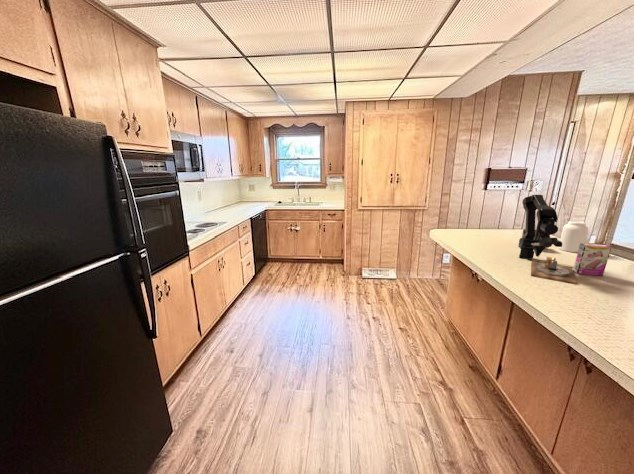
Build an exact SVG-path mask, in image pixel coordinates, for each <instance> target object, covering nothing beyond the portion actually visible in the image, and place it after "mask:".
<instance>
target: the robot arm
mask: <svg viewBox="0 0 634 474" xmlns="http://www.w3.org/2000/svg"><path fill="white" fill-rule="evenodd" d="M522 206H523V207H522V208H523V209H524V211H525V229H526V232H525V235H524V236H523V237H522V236H521V238H520V239H519V241H518V245H517V246H518V248H519V249H520V253H519V256H518V257H519V258H521V259H527V260H533V258H534V256H536V257H538V258H539V257H540V255H541V254H542V253H543V251H544V250H545V249H549V248H550V247H553V246H554V247H558V248H559V247H562V242H561V241H560V239H558V238H557V237H551V235H554V234H557V232H558V231H559V227H558V225H556V223H557V222H558V214H557V212H556V210H555V208H554V207H553V206H550V205H548V203H547V202H546V201H545V199H544V195H543V194H531V195H530V196H526V197H524V198H523V199H522ZM536 218H537V225H536ZM535 230H536V231H535Z"/></svg>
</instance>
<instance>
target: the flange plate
mask: <svg viewBox="0 0 634 474" xmlns="http://www.w3.org/2000/svg"><path fill="white" fill-rule="evenodd" d="M552 258H553V257H549V256H546V260H545V264H546V265H537V267H536V268H537V269H538V271H541V272H543V273H546V274H550V275H556V276H567V275H569V274H570V273H569V271H568V270H567V269H564V268H561V267H558V266H559V265H557V266H556V270H555V271H554V270H550V266H551V261H552V260H553V259H552Z"/></svg>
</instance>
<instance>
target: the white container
mask: <svg viewBox="0 0 634 474" xmlns="http://www.w3.org/2000/svg"><path fill="white" fill-rule="evenodd" d="M563 225H564V226H563V228H562V230H561V234H560V239H559V241H561V242H562V247H558V249H559V250H562V251H564V252H569V253H578V250H579V246H580V243H584V244H586V241H587V236H588V233H589V227H588V226H587V224H586V222H584V221H580V220H579V221H578V220H570V221H567V223H566V224H563Z"/></svg>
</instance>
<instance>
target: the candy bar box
mask: <svg viewBox="0 0 634 474" xmlns="http://www.w3.org/2000/svg"><path fill="white" fill-rule="evenodd" d="M611 251H612V247H610V246H608V245H606V244H594V243H585V244H584V243H580V246H579V250H578V252H576V253H577V254H576V256H575V257H576V258H575V261H574V264H573V268H572V270H573V273H574V274H577V275H587V276H595V277H596V276H598V277H603V276H604V273H605V270H606V266H607V263H608V260H609V257H610V254H611Z"/></svg>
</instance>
